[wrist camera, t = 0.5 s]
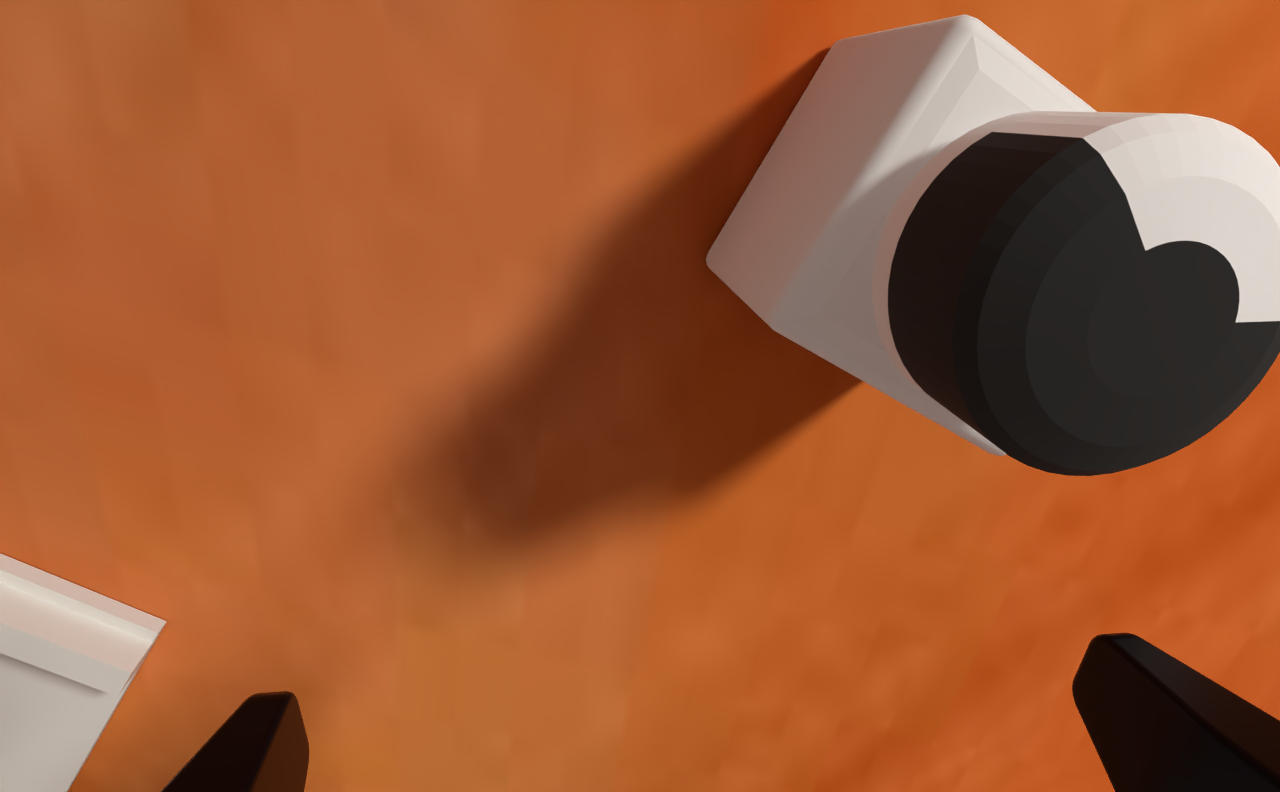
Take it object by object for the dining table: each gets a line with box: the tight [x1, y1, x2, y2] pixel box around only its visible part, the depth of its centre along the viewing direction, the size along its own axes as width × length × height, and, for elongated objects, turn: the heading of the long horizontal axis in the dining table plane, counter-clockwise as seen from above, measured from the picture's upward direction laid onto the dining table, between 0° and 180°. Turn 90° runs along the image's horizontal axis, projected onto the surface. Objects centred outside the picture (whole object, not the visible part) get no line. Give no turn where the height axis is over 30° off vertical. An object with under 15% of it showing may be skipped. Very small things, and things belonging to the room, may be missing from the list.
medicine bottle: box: [706, 14, 1280, 476], centre depth 18 cm, size 7×7×12 cm
